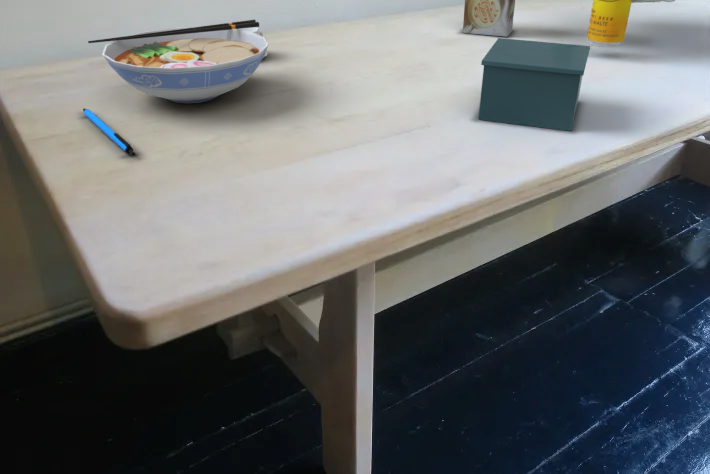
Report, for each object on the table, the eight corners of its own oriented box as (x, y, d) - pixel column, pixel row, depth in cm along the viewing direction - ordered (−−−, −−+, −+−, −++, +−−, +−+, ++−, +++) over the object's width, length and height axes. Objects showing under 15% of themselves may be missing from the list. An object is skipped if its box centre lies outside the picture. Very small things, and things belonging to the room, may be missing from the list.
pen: (130, 158, 77) (128, 149, 76) (80, 112, 90) (79, 104, 90) (137, 156, 77) (136, 147, 77) (87, 111, 91) (85, 103, 90)
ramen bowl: (115, 135, 83) (103, 71, 79) (94, 84, 101) (83, 30, 97) (301, 107, 93) (299, 49, 89) (251, 65, 111) (247, 15, 106)
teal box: (580, 102, 95) (590, 45, 91) (573, 132, 85) (584, 70, 81) (492, 92, 99) (498, 37, 95) (475, 120, 89) (481, 60, 85)
